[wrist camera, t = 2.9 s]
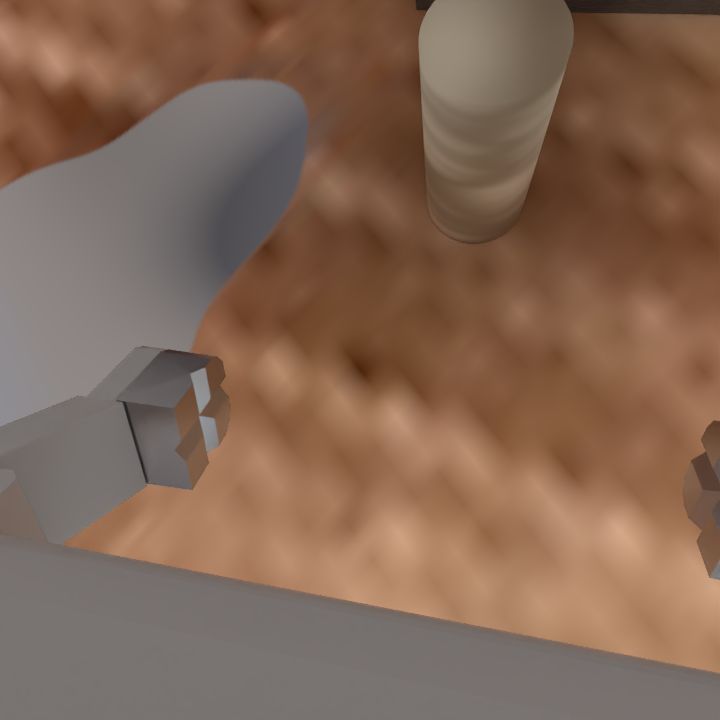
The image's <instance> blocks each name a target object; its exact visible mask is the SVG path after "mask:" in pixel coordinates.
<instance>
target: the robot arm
mask: <svg viewBox="0 0 720 720" xmlns="http://www.w3.org/2000/svg"><path fill="white" fill-rule="evenodd" d="M225 377H226V376H225V371H224V366H223V361H222V360H221V359H219V358H218V357H216V356H210V355H203V354H196V353H190V352H183V351H176V350H170V349H167V350H166V349H161V348H154V347H146V346H141V347H136V348H134V349H133V351H132V352H131V353H130V354H128V355H127V356H126V358H125V359H124V360H122V362H121V363H120V364H118V365H117V366H116V368H115V369H114V370H113V371H112V372H111V373H110V374H109V375H108V376H107V377H106V378H105V379H104V380H103V381H102V382H101V383H100V384H99V385H98V386H97V387H96V388H95V389H94V390H93V391H92V392H91V393H90V394H89V395H88V396H87V397H84V396H76V397H74V398H71V399H69V400H66V401H64V402H61V403H59V404H56V405H54V406H51V407H49V408H46V409H44V410H41V411H39V412H36V413H34V414H31V415H28V416H26V417H24V418H21V419H19V420H16V421H13V422H11V423H8V424H6V425H3V426H1V427H0V720H720V673H717V672H712V671H707V670H701V669H696V668H691V667H686V666H681V665H676V664H671V663H665V662H660V661H655V660H650V659H645V658H640V657H635V656H629V655H624V654H619V653H614V652H609V651H604V650H599V649H593V648H588V647H583V646H578V645H573V644H568V643H563V642H558V641H552V640H547V639H542V638H537V637H532V636H527V635H522V634H516V633H511V632H506V631H501V630H496V629H491V628H486V627H480V626H475V625H470V624H465V623H460V622H455V621H450V620H444V619H439V618H434V617H429V616H424V615H419V614H414V613H408V612H403V611H398V610H393V609H388V608H383V607H378V606H372V605H367V604H362V603H357V602H352V601H347V600H342V599H336V598H331V597H326V596H321V595H316V594H311V593H306V592H300V591H295V590H290V589H285V588H280V587H275V586H270V585H264V584H259V583H254V582H249V581H244V580H239V579H234V578H228V577H223V576H218V575H213V574H208V573H203V572H198V571H192V570H187V569H182V568H177V567H172V566H167V565H162V564H156V563H151V562H146V561H141V560H136V559H131V558H126V557H120V556H115V555H110V554H105V553H100V552H95V551H90V550H84V549H79V548H74V547H69V546H64V545H61V544H63V543H64V542H66V541H67V540H69V539H70V538H71V537H73V536H74V535H76V534H77V533H79V532H80V531H82V530H83V529H85V528H86V527H88V526H89V525H91V524H92V523H93V522H95V521H96V520H98V519H99V518H101V517H102V516H104V515H105V514H107V513H108V512H110V511H111V510H113V509H114V508H116V507H117V506H118V505H120V504H121V503H123V502H124V501H126V500H127V499H129V498H130V497H132V496H133V495H135V494H136V493H138V492H139V491H140V490H142V489H143V488H145V487H146V486H147V484H153V485H160V486H168V487H175V488H182V489H189V490H193V488H194V487H195V485H196V483H197V482H198V480H199V478H200V477H201V475H202V473H203V472H204V470H205V468H206V467H207V465H208V464H209V461H208V456H207V452H209V451H211V450H212V449H214V448H216V447H218V446H219V445H220V443H221V442H222V440H223V438H224V436H225V435H226V431H227V428H228V424H229V420H230V402H229V396H228V395H227V394H226V393H225V391H224V390H223V389H222V388H221V387H220V384H221V383H222V381H223V380H224V378H225ZM701 441H702V443H703V446H704V448H705V451H706V452H705V453H703V454H701V455H700V456H698V457H696V458H695V459H693V460H691V462H690V465H689V467H688V470H687V472H686V474H685V478H684V487H683V498H684V505H685V509H686V512H687V515H688V518H689V519H690V520H691V521H692V522H693V523H695V524H696V525H697V526H698V527H699V528H700V529H701V530H702V532H701V533H700V535H699V537H698V539H697V544H698V547H699V549H700V552H701V555H702V558H703V561H704V564H705V566H706V569H707V572H708V575H709V578H714V579H719V580H720V421H715V420H714V421H713V422H712V423H711V424H710V425H709V426H708V427H707V428H706V430H705V432H704V434H703V436H702V439H701Z"/></svg>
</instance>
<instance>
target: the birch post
mask: <svg viewBox="0 0 720 720" xmlns="http://www.w3.org/2000/svg"><path fill="white" fill-rule="evenodd" d="M573 40H574V25H573V19H572V16H571V13H570V10H569V8H568V6H567V4H566V3H565V1H564V0H435V1H434V2H433V4H432V5H431V7H430V8H429V9H428V11H427V13H426V15H425V17H424V19H423V22H422V24H421V28H420V32H419V42H418V44H419V62H420V81H421V100H422V119H423V138H424V157H425V176H426V195H427V208H428V212H429V215H430V218H431V220H432V221H433V223H434V224H435V226H436V227H437V228H438V229H439V230H440V231H441V232H442V233H443V234H445V235H446V236H448V237H449V238H451V239H454V240H456V241H459V242H463V243H471V244H477V243H484V242H489V241H492V240H494V239H497V238H499V237H501V236H502V235H504V234H505V233H506V232H508V231H509V230H510V229H511V228H512V227H513V226H514V224H515V223H516V222H517V220H518V218H519V216H520V214H521V212H522V209H523V205H524V202H525V199H526V196H527V192H528V189H529V186H530V183H531V179H532V176H533V173H534V170H535V166H536V163H537V160H538V157H539V153H540V150H541V147H542V144H543V141H544V137H545V134H546V131H547V128H548V124H549V121H550V118H551V115H552V111H553V108H554V105H555V102H556V98H557V95H558V92H559V89H560V85H561V82H562V79H563V76H564V72H565V69H566V66H567V63H568V59H569V56H570V53H571V50H572V46H573Z"/></svg>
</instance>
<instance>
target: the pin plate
mask: <svg viewBox="0 0 720 720" xmlns="http://www.w3.org/2000/svg"><path fill="white" fill-rule="evenodd" d="M434 1H435V0H416V8H417V9H421V10H428V9H429V8H430V7H431V5H432V4H433V2H434ZM564 1H565V3H566V4H567V6H568V8H569V10H570V12H600V13H660V14H720V0H564Z"/></svg>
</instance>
